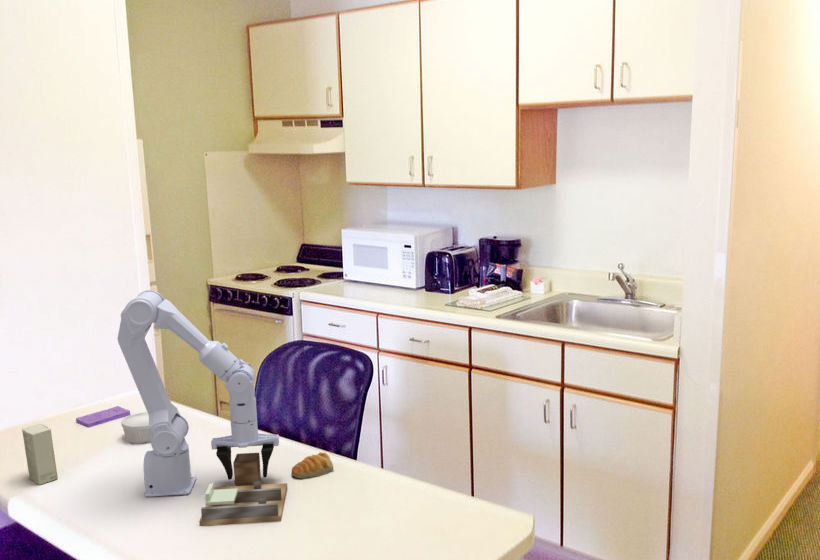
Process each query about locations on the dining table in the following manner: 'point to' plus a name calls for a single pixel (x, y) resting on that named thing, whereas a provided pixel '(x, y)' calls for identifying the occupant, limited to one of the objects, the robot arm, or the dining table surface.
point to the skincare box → (40, 454)
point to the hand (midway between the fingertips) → (247, 476)
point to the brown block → (246, 469)
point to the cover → (220, 495)
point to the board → (248, 505)
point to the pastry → (313, 466)
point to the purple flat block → (103, 416)
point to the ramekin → (137, 428)
